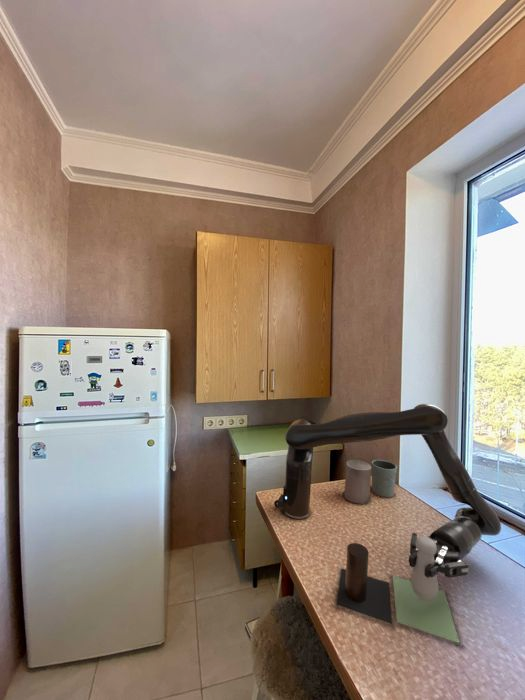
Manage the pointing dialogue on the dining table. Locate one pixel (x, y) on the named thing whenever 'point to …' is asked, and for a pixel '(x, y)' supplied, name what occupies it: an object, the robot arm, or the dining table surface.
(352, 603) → the dark mat
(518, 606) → the dining table surface
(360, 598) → the dark brown cylinder
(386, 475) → the grey-green plant pot
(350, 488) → the pillar candle
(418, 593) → the salt shaker
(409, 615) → the sage mat
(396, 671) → the dining table surface
